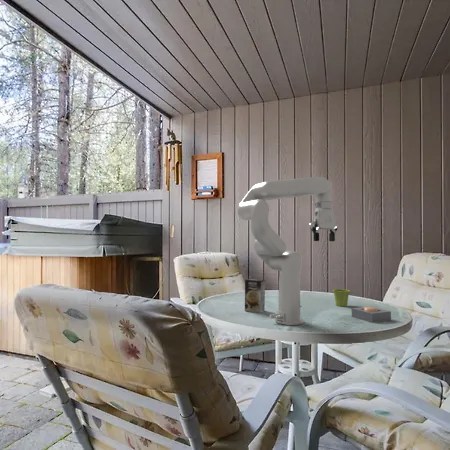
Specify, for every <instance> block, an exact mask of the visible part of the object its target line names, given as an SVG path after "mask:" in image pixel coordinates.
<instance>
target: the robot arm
mask: <svg viewBox="0 0 450 450" xmlns="http://www.w3.org/2000/svg"><path fill="white" fill-rule="evenodd" d="M302 196H315V204H314V207H315V209H314V214H313V215H314V216H313V221H311V222H309V224H308V225H309V228H310V230H311V232H312V233H313V242H319V241H320V233H319V231H320V230H328V231H329V234H328V236H329V237H328V240H329V242H335V241H336V238H335V237H336V236H335V235H336V233H337V230H338V228H339V226H340V225H339V224H338V222H336V215H335V211H334V209H333V183H332V182H331V180H328V179H327V178H326V177H325V176H324V177H323V176H313V177H311V176H310V177H304V178H303V177H301V178H290V179H289V178H287V179H275V180H274V179H273V180H266V181H262V182H258V183H256V184H254V185H253V186H252V187H251V188H250V189H249V191H248V192H247V193H246V194H245V196H244V197H243V198H242V200H241V201H240V202H239V204H238V206H237V215H238V217H239V218H240V219H241V220H244V221H250V232H251V234H252V236H253V238H254V239H255V240H254V242H253V250H254V252H255V253H256V255H257V256H258V257H259V258H260V259H261V260H262V261H263V262H264V263H265V264H266V266H268V267H269V268H270V269H272V270H273V271H276V272H277V271H278V272H279V271H280V272H281V273H280V275H279V278H278V310H276V312H275V313H270V314H269V315H268V316H269V319H271V320H272V319H273V320H274V322H276V323H277V324H281V325H286V326H298V325H303V324H304V323H305V319H303V318H301V276H302V275H301V274H302V268H303V258H302V257H303V256H302V255H301V254H300V253H298V252H297V251H294V250H287V246H286V243H285V241H284V239H283V238H282V237H281V235H279V234H278V233H277V232H276V231H275V230H274V229H273V227H272V226H271V225H270V222H269V212H270V208H269V204H268V202H267V201H273V200H279V199H280V200H282V199H284V200H285V199H293V198H299V197H302Z"/></svg>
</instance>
